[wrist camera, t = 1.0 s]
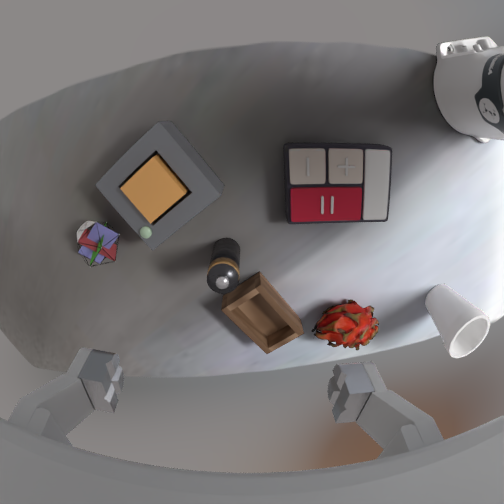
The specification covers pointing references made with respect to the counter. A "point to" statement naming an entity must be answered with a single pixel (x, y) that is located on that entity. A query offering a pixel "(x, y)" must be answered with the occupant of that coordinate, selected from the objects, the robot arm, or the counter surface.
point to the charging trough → (262, 313)
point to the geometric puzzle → (97, 242)
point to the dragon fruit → (347, 325)
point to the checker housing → (184, 165)
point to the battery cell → (224, 266)
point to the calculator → (337, 182)
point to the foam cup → (456, 320)
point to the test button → (154, 188)
